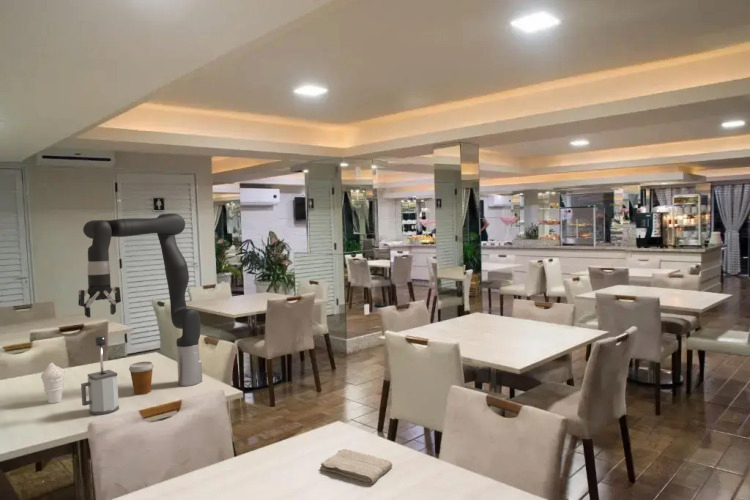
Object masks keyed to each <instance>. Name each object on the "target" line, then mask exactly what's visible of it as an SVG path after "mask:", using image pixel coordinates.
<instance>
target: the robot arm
mask: <svg viewBox="0 0 750 500" xmlns="http://www.w3.org/2000/svg"><path fill="white" fill-rule="evenodd" d="M185 228H186V221H185V219H184V217H182V216H181V215H180V214H178V213H162V214H160V215H158V216H157V217H150V218H149V217H148V218H144V217H143V218H140V217H139V218H135V217H134V218H131V217H129V218H128V217H127V218H117V219H109V220H107V219H105V220H103V219H97V220H96V219H94V220H89V221H87V222H86V223H85V224H84V225H83V227H82V231H83V232H82V233H83V234H84V235H85V236H86V238H89V239H92V242H91V243H92V244H91V245H90V246H88V247H87V284H88V285H87V289H79V290H78V306H80V307H83V308H84V316H85V317H86V318H91V307H90V306H91V305H92V304H93V302H95V301H100V300H102V301H103V300H107V301H108V302H109V303H110V304H109V306H110V307H109V309H110V315H115V313H117V309H116V308H117V304H119V303H121V301H122V298H121V297H122V296H121V289H120V288H121V287H119V286H114V287H112V286H111V265H110V254H109V253H110V252H109V249H110V246H111V245H110V244H111V240H112V237H114V238H116V237H117V238H121V237H122V238H125V237H134V236H141V235H148V234H149V235H150V234H157V238H158V241H159V245H160V249H161V254H162V258H163V265H164V272H165V277H166V278H165V279H166V281H167V287H168V295H169V304H170V305H169V306H170V319H171V322H172V325H173V327H175V328H176V329H178V330H179V329H180V330H182V331H181V332H182V333H181V334H182V335H181V336H180V337H179V338H177V339H176V343H175V344H176V357H177V381H178V384H177V385H179V386H183V387H187V386H188V387H189V386H195V385H197V384H200V383H202V382H203V368H202V367H203V366H202V360H201V359H200V347H199V346H200V344H199V343H200V338H201V316H200V313H199V311H198V310H197V309H195V308H188V306H187V303H186V302H187V301H186V291H187V289H188V286H189V281H190V274H189V269H188V268H189V267H188V263H187V260H186V259H185V257H184V256H183V254H182V252H181V251H180V249H179V247H178V244H177V240H176V235H180V234H181V233H182V232H183V231H184V230H185ZM112 292H113V294H114V297H112V296H111V293H112ZM87 294H88V298H87V299H86V301H85V296H86V295H87Z"/></svg>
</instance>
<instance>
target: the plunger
mask: <svg viewBox="0 0 750 500" xmlns="http://www.w3.org/2000/svg"><path fill="white" fill-rule="evenodd" d="M106 340H107V339H106V336H105V335H98V336H95V346H99V360H100V361H99V362H100V363H99V364H100V372H101V375H103V374H104V371H105V370H104V356H103V355H104V353H103V346H105V345H107V343H106V342H107V341H106Z"/></svg>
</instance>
